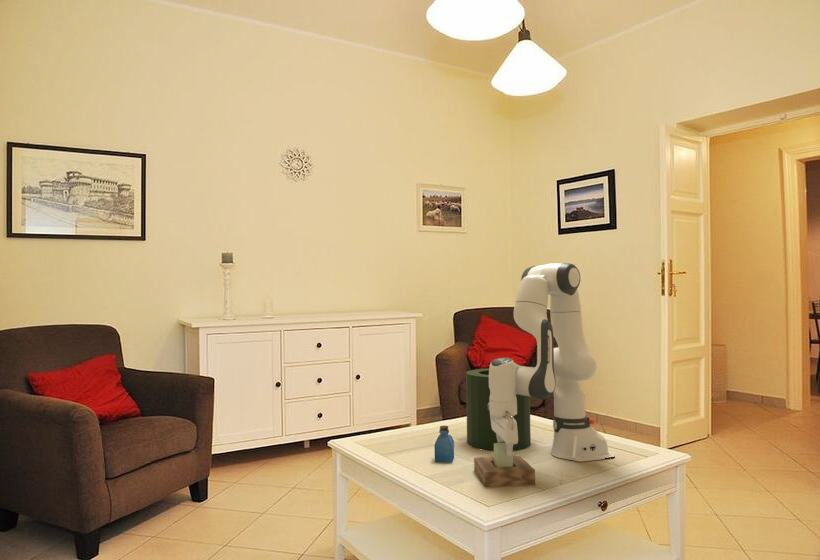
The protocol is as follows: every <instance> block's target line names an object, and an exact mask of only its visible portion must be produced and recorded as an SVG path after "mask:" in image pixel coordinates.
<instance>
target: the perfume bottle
mask: <svg viewBox="0 0 820 560" xmlns="http://www.w3.org/2000/svg"><path fill="white" fill-rule="evenodd" d="M438 432H439V435H438V436H437V438H436V441H435V442H434V463H442V464H443V463H445V464H447V463H448V464H452V463H453V461H454V459H455V441H454V438H453V437H452V435H451V434H449V433H450V430H449V426H448V425H440V426H439V431H438Z"/></svg>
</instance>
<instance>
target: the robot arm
mask: <svg viewBox="0 0 820 560" xmlns="http://www.w3.org/2000/svg"><path fill="white" fill-rule="evenodd" d="M520 281H521V282H520V283H519V286H518V290H517V293H516V298H515V301H514V307H513V319H514V322H515V324H516V325H517V326H518V327H519V328H520V329H521V330H523V331H525V332H527V333H529V334H530V335H532V336H533V337H534V338H535V339H536V340H535V341H536V345H537V347H536V356H537V357H536V359H537V360H536V365H535V367H534V366H524V365H520V364H518V363H516V362H514V360H513V359H512V358H511V357H499V358H495V359H493V360H492V361H491V362H489V363H490V364H489V368H488V369H489V388H490V398H489V402H490V403H488V409H489V410H490V420H491V427H492V430H493V431H494V432H495V433H496V436H497V441H498V443H504V442H505V443H506V449H505V451H506V455H507V456H512V449H513V444H517V443H518V430H517V422H516V420H515V419H514V418H513V416H514V415H516V414H517V398H516V394H518V395H523V396H530V398H534V399H538V400H546V399H548V398H549V397H551V395H552V394H553V409H554V411H553V413H554V414H553V417H552V418H553V420H552V428H553V431H554V432H553V441H552V446H551V450H550V454H551V455H552V456H553V457H555V458H559V459H563V460H570V461H575V462H579V463H580V462H589V461H600V460H606V459H605V458H607V457H609V456H611V455H610V454H609V452H608V449H609V448H608V442H607V440H606V438H605V437H604V436H603V435H602V434H601V433H599V432H598V431H597V430H596V429H594V428H593V427H592V426H593V425H595V424H596V419H594V418H592V417H591V418H590V417H588V416H586V396H585V393H584V391H583V390H582V388H581V385H580V382H581V381H582V382H584V381H587V380H590V379H591V378H592V377H594V375H595V373H596V371H597V361H596V360H595V358H594V357H593V356H592V354H591V352H590V351H589V348H588V344H587V342H586V339H585V336H584V331H583V319H582V305H581V299H580V296H579V291H578V288H579V286H580V283H581V272H580V270H579V268H577V266H576V265H575V264H573V263H570V262H563V263H560V262H559V263H555V262H554V263H553V262H552V263H547V264H541V265H532V266H530V267H527V268H526V269H525V270H523V272H522V275H521V279H520ZM549 296H550V301H549ZM548 303H549V304H548ZM548 305H549V309H550V310H549V312H550V321H549V319H548V315H547V313H548V312H547V310H548ZM554 339H555V340H554ZM554 341H556V344H557V347H555V345H554V344H555V343H554ZM591 425H592V426H591ZM503 441H504V442H503Z"/></svg>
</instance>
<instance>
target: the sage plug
mask: <svg viewBox="0 0 820 560" xmlns="http://www.w3.org/2000/svg"><path fill="white" fill-rule="evenodd" d="M505 449H506V443H494V451H493V457H494V466H495V467H513V456H514V451H513V449H512V456H507V455H506V451H505Z"/></svg>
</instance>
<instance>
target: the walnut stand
mask: <svg viewBox="0 0 820 560" xmlns="http://www.w3.org/2000/svg"><path fill="white" fill-rule="evenodd" d="M473 465H474V466H473V469H474V470H473V471H474V472H475V474H476V476H477V477H478V479H479V480H480V482H481V483H482V485H483V486H484V487H485V488H493V487H494V488H495V487H496V488H497V487H514V486H515V487H516V486H535V485H536V469H534V467H532V466H531V465H530V464H529V462H528V461H526V460H525V459H524V457H523V456H521V455H513V467H495V466H494V456H480V457H473Z"/></svg>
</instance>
